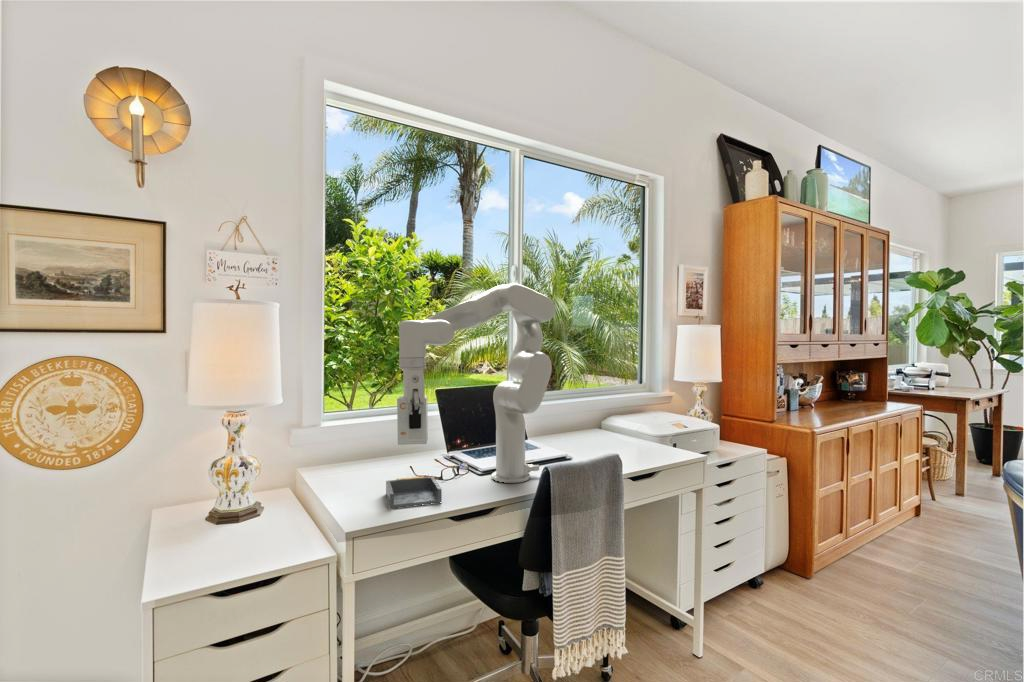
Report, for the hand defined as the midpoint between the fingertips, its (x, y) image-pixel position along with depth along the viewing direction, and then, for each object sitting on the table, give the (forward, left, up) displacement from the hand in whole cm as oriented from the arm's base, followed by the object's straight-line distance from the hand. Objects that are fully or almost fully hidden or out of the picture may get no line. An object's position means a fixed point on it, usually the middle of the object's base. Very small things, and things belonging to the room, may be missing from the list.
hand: (413, 425), depth 145 cm
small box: (0, 0, -5) cm, 5 cm away
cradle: (0, 0, -21) cm, 21 cm away
